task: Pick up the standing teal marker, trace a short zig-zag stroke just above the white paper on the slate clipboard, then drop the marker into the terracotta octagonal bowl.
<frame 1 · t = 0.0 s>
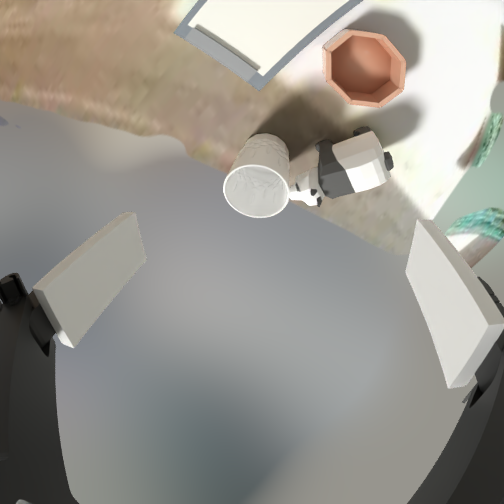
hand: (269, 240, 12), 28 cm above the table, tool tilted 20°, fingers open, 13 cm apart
clipboard: (268, 4, 22), on the table
giant panda: (338, 150, 37), on the table
white cup: (265, 152, 39), on the table
terracotta octagonal bowl: (359, 63, 26), on the table
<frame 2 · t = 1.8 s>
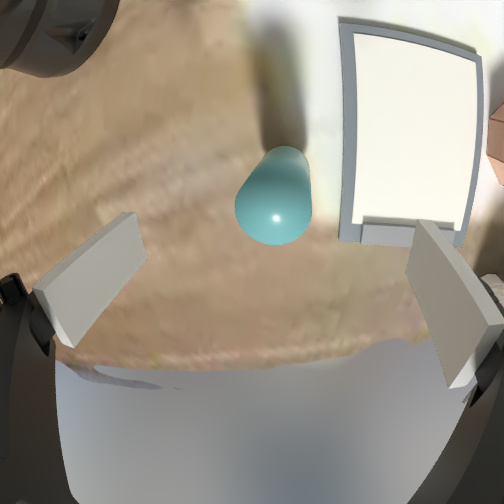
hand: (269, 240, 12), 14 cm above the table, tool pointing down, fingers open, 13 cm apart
clipboard: (418, 141, 20), on the table
marker: (286, 164, 24), on the table
white cup: (481, 293, 26), on the table
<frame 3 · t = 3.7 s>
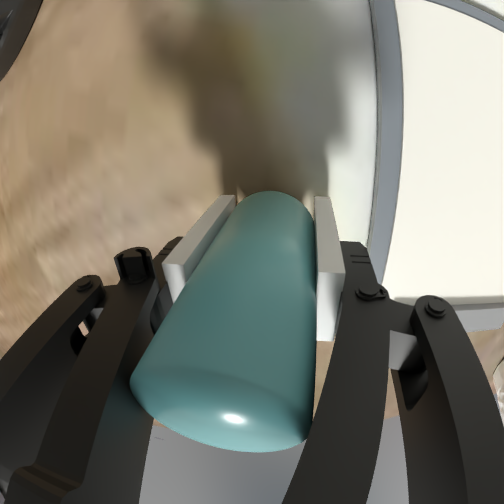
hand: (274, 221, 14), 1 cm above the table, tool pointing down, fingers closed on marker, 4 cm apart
clipboard: (485, 180, 11), on the table
marker: (276, 216, 14), on the table, touching gripper
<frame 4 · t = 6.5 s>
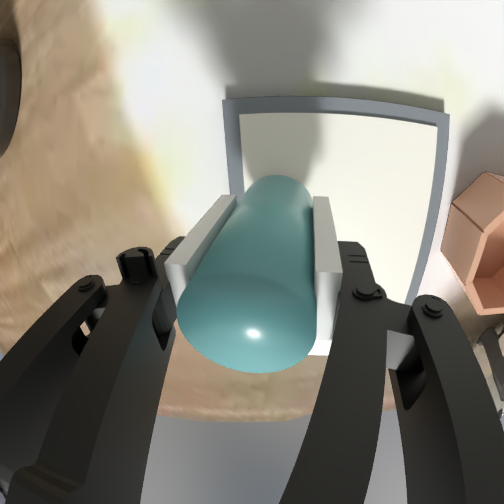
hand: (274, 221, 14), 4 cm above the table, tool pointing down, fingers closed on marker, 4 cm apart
clipboard: (336, 246, 19), on the table
marker: (280, 198, 17), point 1 cm above the table, touching clipboard, gripper
giant panda: (500, 326, 20), on the table
terracotta octagonal bowl: (489, 231, 16), on the table
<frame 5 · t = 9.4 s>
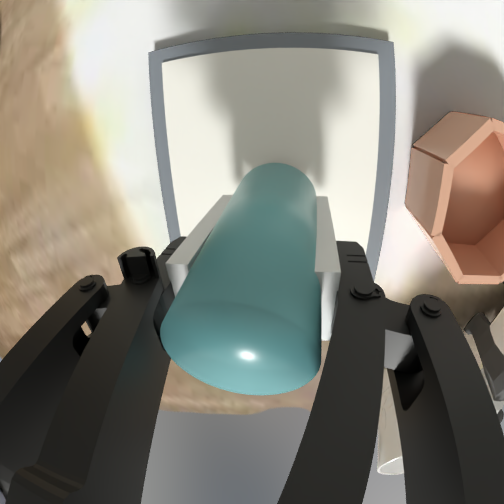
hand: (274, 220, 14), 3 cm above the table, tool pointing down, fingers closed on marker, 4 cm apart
clipboard: (272, 198, 17), on the table
marker: (279, 186, 15), point 1 cm above the table, tilted 5°, touching clipboard, gripper
giant panda: (492, 311, 18), on the table
white cup: (407, 372, 23), on the table
terracotta octagonal bowl: (466, 185, 14), on the table
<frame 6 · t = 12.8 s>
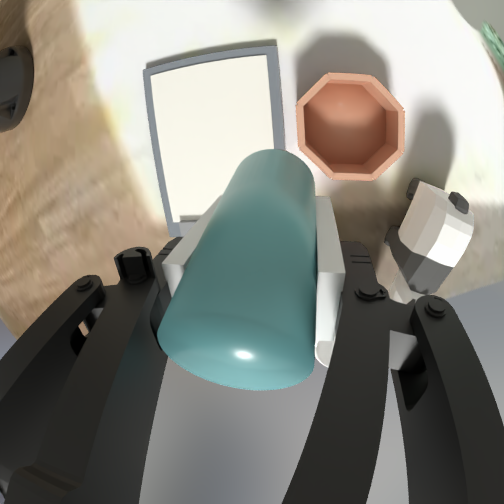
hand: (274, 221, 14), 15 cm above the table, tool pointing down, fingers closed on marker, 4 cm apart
clipboard: (216, 146, 27), on the table
marker: (277, 170, 15), point 13 cm above the table, tilted 11°, touching gripper
giant panda: (409, 227, 28), on the table
white cup: (345, 285, 33), on the table
terracotta octagonal bowl: (345, 123, 24), on the table
when the fingers open (7 cm above the table, at t = 15.2 s): marker drops 3 cm and tips over, resting on terracotta octagonal bowl.
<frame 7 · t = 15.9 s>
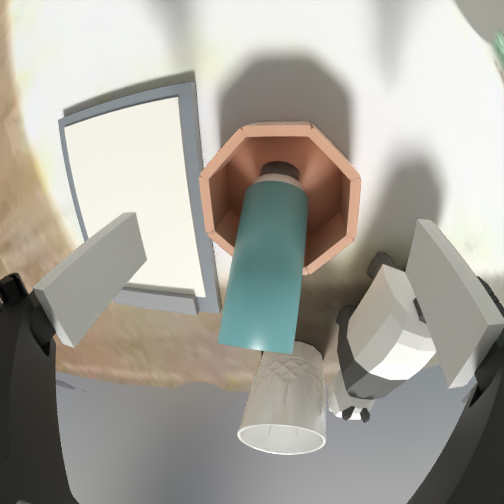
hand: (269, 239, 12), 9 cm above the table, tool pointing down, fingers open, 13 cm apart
clipboard: (134, 211, 23), on the table
marker: (280, 173, 18), point 1 cm above the table, tilted 40°, touching terracotta octagonal bowl
giant panda: (370, 306, 24), on the table
white cup: (292, 358, 29), on the table
terracotta octagonal bowl: (284, 184, 20), on the table
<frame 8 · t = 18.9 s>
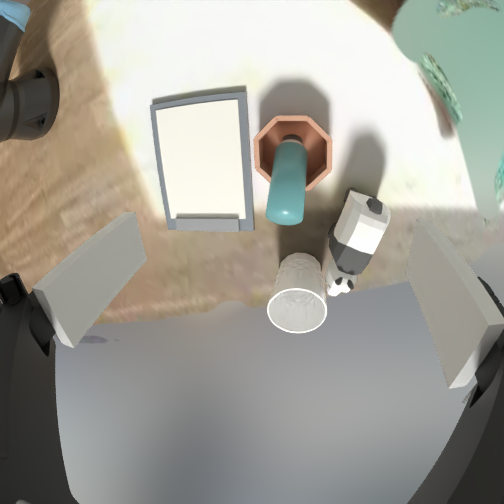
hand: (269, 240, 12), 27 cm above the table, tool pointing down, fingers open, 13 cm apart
clipboard: (202, 164, 38), on the table
marker: (292, 140, 33), point 1 cm above the table, tilted 40°, touching terracotta octagonal bowl
giant panda: (348, 225, 39), on the table
white cup: (300, 269, 44), on the table
terracotta octagonal bowl: (294, 148, 35), on the table
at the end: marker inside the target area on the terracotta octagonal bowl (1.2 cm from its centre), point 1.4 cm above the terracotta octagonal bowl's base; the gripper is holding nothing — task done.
